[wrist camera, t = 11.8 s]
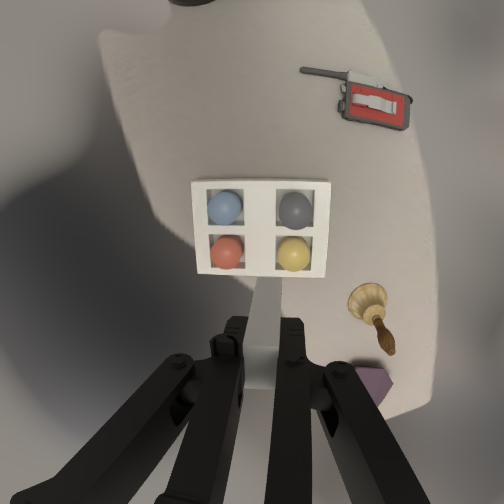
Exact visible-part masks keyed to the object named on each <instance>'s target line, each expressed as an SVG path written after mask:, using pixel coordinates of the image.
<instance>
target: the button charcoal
mask: <svg viewBox="0 0 504 504" xmlns="http://www.w3.org/2000/svg"><path fill="white" fill-rule="evenodd" d="M279 218H280V221H281V222H282V224H283V225H284V226H285V227H287V228H289V229H291V230H301V229H304V228H305V227H307V226H308V225H309V224H310V223H311V221H312V218H313V208H312V206H311V204H310V201H309V200H308V198H307V197H306V196H305V195H303V194H301V193H298V192H292V193H289V194H287V195H285V196H284V197H283V198H282V200H281V201H280V205H279Z"/></svg>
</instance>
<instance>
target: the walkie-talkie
mask: <svg viewBox="0 0 504 504" xmlns="http://www.w3.org/2000/svg"><path fill="white" fill-rule="evenodd" d="M300 71H301V72H303V73H310V74H317V75H324V76H330V77H336V78H340V79H343V80H346V83H345V84H341V89H342V92H344V93H343V100H340V101H339V104H338V111H339V112H342V117H343V118H344V119H347V120H350V121H358V122H361V123H368V124H369V123H370V124H373V125H379V126H382V127H388V128H391V129H394V130H395V129H396V130H399V131H402V130H405V129H407V128H408V127H409V118H410V104H412V102H413V99H412V98H411V97H410V96H409V95H406V94H402V93H399V92H395V91H392V90H389V89H387V88H385V87H383V85H382V84H379V83H378V82H377V81H376V80H375V79H374V78H373V77H372V76H370V75H366V74H362V73H357V72H354V71H352V70H349V71H348V72H347V73H344V72H334V71H329V70H322V69H315V68H308V67H301V68H300Z"/></svg>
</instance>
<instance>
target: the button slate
mask: <svg viewBox="0 0 504 504" xmlns="http://www.w3.org/2000/svg"><path fill="white" fill-rule="evenodd" d="M242 208H243V202H242V199H241V197H240V196H239V194H237V193H236V192H234V191H232V190H224V191H221V192H219V193H218V194H217V195H215V196H214V197H212V198H211V200H210V201H209V203H208V207H207V211H208V215H209V217H210V218H211V220H212V221H213V222H215V223H216V224H219V225H229V224H231V223H233V222H234V221H235V220H236V219H237V217H238V216H239V214H240V213H241V211H242Z"/></svg>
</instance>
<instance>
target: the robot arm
mask: <svg viewBox="0 0 504 504" xmlns="http://www.w3.org/2000/svg"><path fill="white" fill-rule="evenodd" d="M169 1H170V2H172V3H174V4H177V5H181V6H196V5H202V4H206V3H209V2H211V1H214V0H169ZM281 295H282V278H277V277H257V281H256V286H255V291H254V295H253V300H252V304H251V309H250V313H249V317H245V316H232V317H231V318H230V319H229V320H228V321H227V324H226V327H225V329H224V333H223V334H219V335H216V336H214V337H213V338H212V339H211V340H210V347H211V355H212V356H211V357H210V358H207V359H204V360H196V361H193V359H192V358H191V356H189V355H187V354H183V353H178V354H173V355H171V356H169V357H168V358H166V359H165V361H164V362H163V363H162V364H161V365H160V366H159V367H158V368H157V369H156V370H155V371H154V372H153V373H152V374H151V376H150V377H149V378H148V379H147V380H146V381H145V382H144V383H143V384H142V385H141V386H140V387H139V388H138V389H137V391H135V393H134V394H133V395H132V396H131V397H130V398H129V399H128V400H127V401H126V402H125V403H124V404H123V405H122V406H121V407H120V408H119V409H118V411H117V412H116V413H115V414H114V415H113V416H112V417H111V418H110V419H109V420H108V421H107V422H106V423H105V424H104V425H103V426H102V427H101V428H100V430H99V431H98V432H97V433H96V434H95V435H94V436H93V437H92V438H91V439H90V440H89V441H88V442H87V443H86V444H85V445H84V446H83V447H82V448H81V449H80V450H79V451H78V453H77V454H76V455H75V456H74V457H73V458H72V459H71V460H70V461H69V462H68V463H67V464H66V465H65V466H64V467H63V468H62V469H61V470H60V471H59V472H58V473H57V474H56V475H55V476H54V477H53V478H51V479H49V480H47V481H44V482H42V483H40V484H37V485H35V486H32V487H30V488H28V489H25V490H23V491H20V492H18V493H16V494H15V495H13V496H12V498H11V500H10V504H128V503H129V501H130V500H131V499H132V497H133V496H134V495H135V494H136V492H137V491H138V490H139V488H140V487H141V486H142V484H143V483H144V482H145V481H146V479H147V478H148V477H149V475H150V474H151V472H152V471H153V470H154V469H155V467H156V466H157V464H158V463H159V462H160V460H161V459H162V457H163V456H164V455H165V454H166V452H167V451H168V449H169V448H170V447H171V445H172V444H173V442H174V441H175V440H176V438H177V437H178V436H179V434H180V433H181V431H182V430H183V428H184V427H185V425H186V424H187V423H188V421H189V423H188V426H187V429H186V432H185V435H184V438H183V441H182V444H181V446H180V449H179V453H178V455H177V458H176V461H175V464H174V467H173V470H172V473H171V476H170V479H169V482H168V485H167V488H166V490H165V492H164V493H163V494H161V495H159V496H158V497H157V498H156V500H155V503H154V504H223V501H224V496H225V490H226V485H227V481H228V475H229V470H230V465H231V460H232V455H233V450H234V445H235V439H236V434H237V428H238V423H239V417H240V413H241V407H242V402H243V387H244V386H245V388H251V389H268V390H275V398H274V410H273V422H272V433H271V444H270V454H269V464H268V474H267V483H266V492H265V501H264V504H312V437H311V408H312V409H316V410H317V414H318V417H319V419H320V422H321V425H322V427H323V430H324V432H325V435H326V438H327V440H328V443H329V445H330V448H331V450H332V453H333V456H334V458H335V461H336V463H337V466H338V469H339V471H340V474H341V476H342V479H343V481H344V484H345V487H346V489H347V492H348V494H349V497H350V500H351V502H352V504H430V501H429V500H428V498H427V496H426V494H425V492H424V490H423V488H422V486H421V484H420V483H419V481H418V479H417V477H416V475H415V474H414V472H413V470H412V468H411V466H410V464H409V462H408V461H407V459H406V457H405V455H404V454H403V452H402V450H401V448H400V446H399V445H398V443H397V441H396V439H395V437H394V436H393V434H392V432H391V430H390V429H389V427H388V425H387V423H386V422H385V420H384V418H383V416H382V415H381V413H380V411H379V409H378V408H377V406H376V404H375V403H374V401H373V399H372V397H371V396H370V394H369V392H368V391H367V389H366V387H365V386H364V384H363V382H362V381H361V379H360V377H359V375H358V374H357V372H356V370H355V369H354V367H353V366H352V365H351V364H349V363H347V362H343V361H334V362H331V363H329V364H328V365H327V366H326V367H324V366H319V365H316V364H314V363H312V362H311V361H310V360H308V358H307V356H306V348H305V333H304V323H303V322H302V321H301V319H300V318H285V317H281Z"/></svg>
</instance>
